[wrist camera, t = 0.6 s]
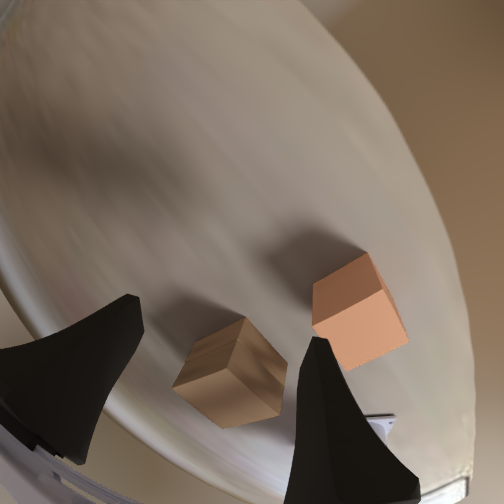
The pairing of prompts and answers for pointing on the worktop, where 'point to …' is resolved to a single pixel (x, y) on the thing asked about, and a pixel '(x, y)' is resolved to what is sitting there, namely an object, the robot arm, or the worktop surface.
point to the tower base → (250, 340)
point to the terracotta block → (357, 313)
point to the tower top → (230, 387)
